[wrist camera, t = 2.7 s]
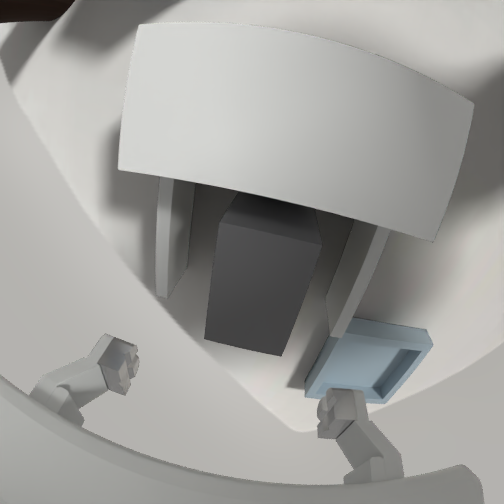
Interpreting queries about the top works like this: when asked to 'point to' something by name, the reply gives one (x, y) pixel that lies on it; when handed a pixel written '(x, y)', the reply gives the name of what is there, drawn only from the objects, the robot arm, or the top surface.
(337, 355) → the tray
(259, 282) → the upright charcoal rectangular block
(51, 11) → the coffee mug
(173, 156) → the bay
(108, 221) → the top surface
